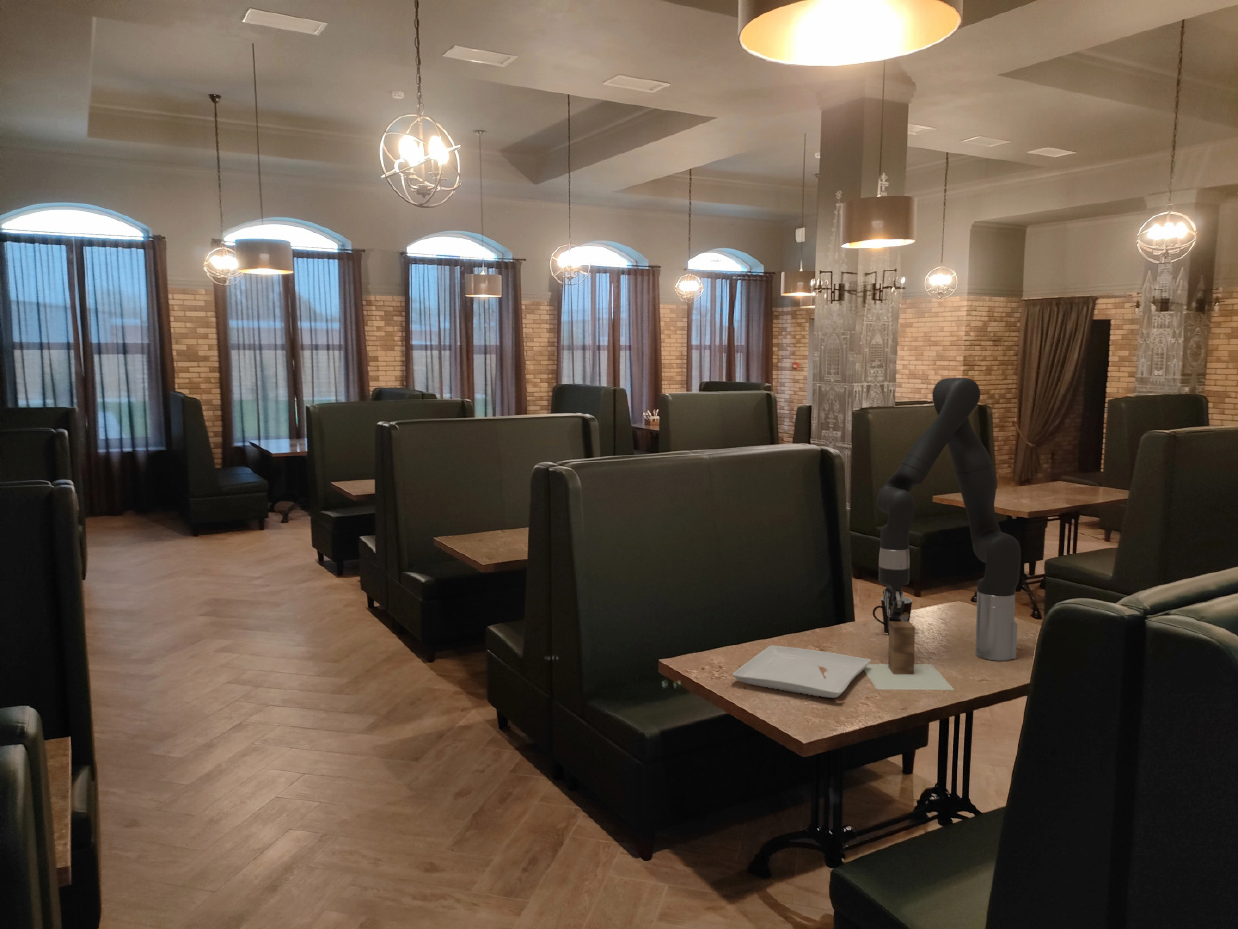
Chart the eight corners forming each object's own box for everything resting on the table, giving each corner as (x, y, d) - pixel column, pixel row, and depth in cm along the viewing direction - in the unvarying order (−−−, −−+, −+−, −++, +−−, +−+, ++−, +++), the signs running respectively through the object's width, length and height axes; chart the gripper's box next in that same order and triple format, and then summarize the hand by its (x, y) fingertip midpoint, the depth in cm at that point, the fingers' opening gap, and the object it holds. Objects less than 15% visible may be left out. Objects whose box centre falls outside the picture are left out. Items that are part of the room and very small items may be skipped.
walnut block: (908, 667, 220) (909, 621, 219) (913, 674, 215) (914, 627, 214) (888, 667, 220) (889, 621, 219) (893, 674, 215) (894, 627, 214)
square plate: (872, 672, 220) (872, 657, 219) (840, 708, 196) (841, 691, 196) (770, 656, 234) (770, 642, 233) (730, 688, 210) (730, 672, 210)
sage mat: (931, 666, 222) (931, 664, 222) (954, 692, 204) (954, 689, 204) (860, 666, 223) (860, 664, 223) (876, 691, 205) (876, 689, 205)
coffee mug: (907, 629, 255) (908, 596, 254) (914, 638, 246) (915, 603, 245) (867, 628, 256) (867, 595, 255) (872, 637, 247) (873, 603, 246)
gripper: (916, 570, 216) (914, 638, 218) (902, 559, 229) (900, 623, 231) (885, 570, 217) (884, 638, 218) (873, 559, 230) (872, 623, 232)
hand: (892, 630), depth 225 cm, fingers closed
